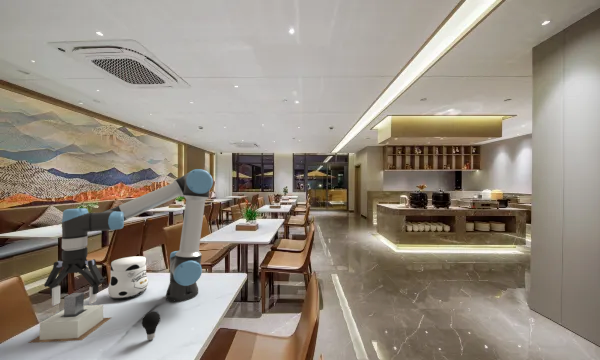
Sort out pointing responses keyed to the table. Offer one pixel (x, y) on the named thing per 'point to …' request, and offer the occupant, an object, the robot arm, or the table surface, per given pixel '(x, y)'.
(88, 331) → the board
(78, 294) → the brushed grey pillar
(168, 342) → the table surface
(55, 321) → the well
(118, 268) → the milk container
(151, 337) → the light bulb
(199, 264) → the robot arm
